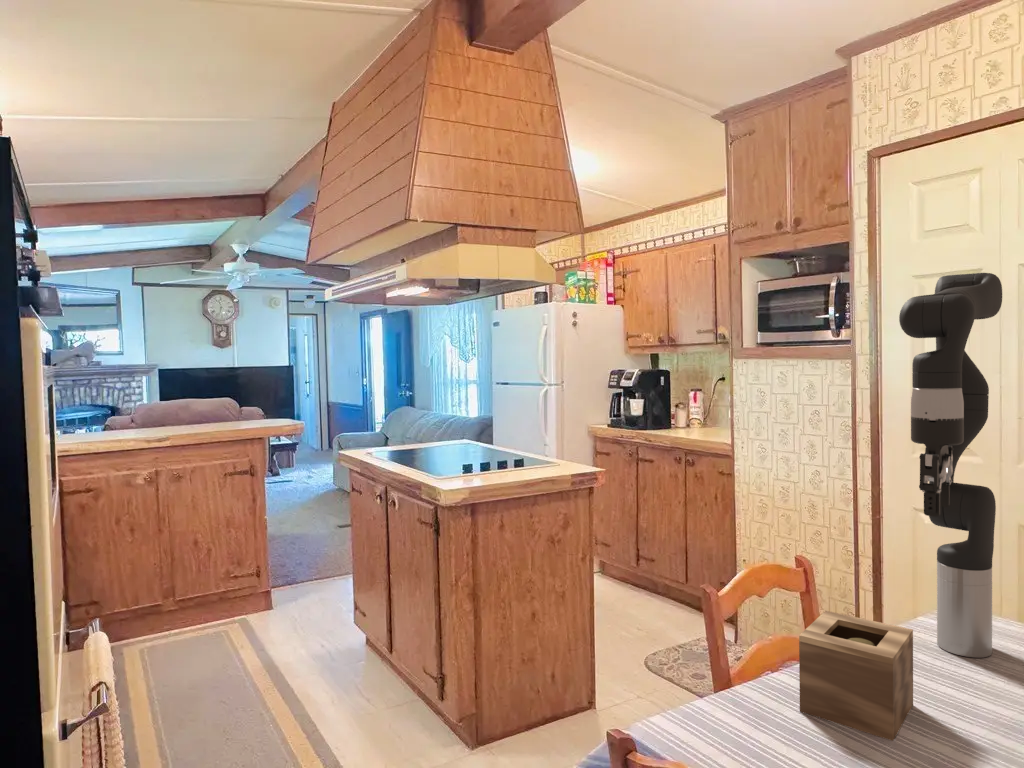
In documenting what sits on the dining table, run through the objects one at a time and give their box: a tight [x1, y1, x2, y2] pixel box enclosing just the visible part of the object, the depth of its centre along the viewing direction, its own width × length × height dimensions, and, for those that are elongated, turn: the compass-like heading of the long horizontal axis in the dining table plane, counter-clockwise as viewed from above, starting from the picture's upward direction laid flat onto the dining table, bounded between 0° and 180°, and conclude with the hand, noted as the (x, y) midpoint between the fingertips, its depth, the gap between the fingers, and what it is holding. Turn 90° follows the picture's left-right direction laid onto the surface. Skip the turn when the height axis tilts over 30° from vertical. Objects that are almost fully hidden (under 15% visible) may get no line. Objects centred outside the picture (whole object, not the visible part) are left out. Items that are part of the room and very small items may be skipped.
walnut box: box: [798, 610, 914, 742], centre depth 114 cm, size 14×14×13 cm
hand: (936, 510), depth 114 cm, fingers open, 8 cm apart
